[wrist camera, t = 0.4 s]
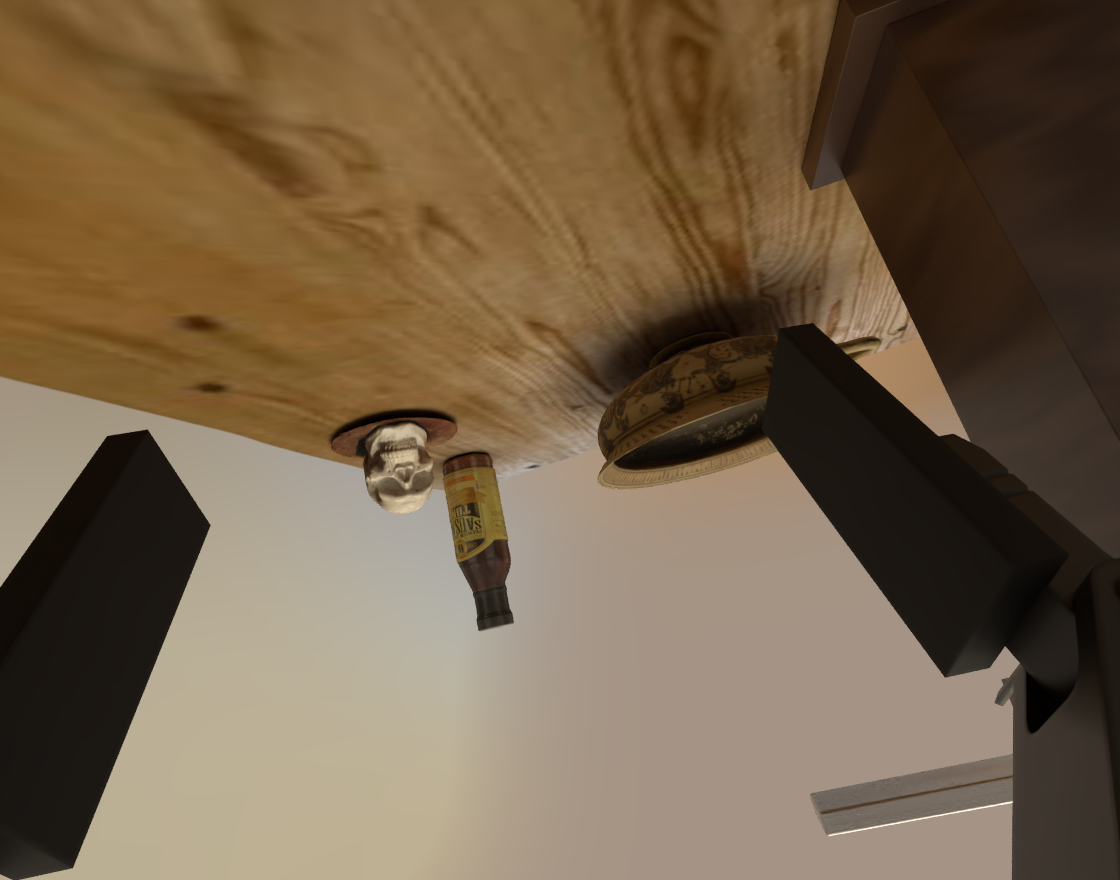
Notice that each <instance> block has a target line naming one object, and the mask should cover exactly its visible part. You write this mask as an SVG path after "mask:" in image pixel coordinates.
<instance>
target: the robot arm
mask: <svg viewBox="0 0 1120 880" xmlns="http://www.w3.org/2000/svg"><path fill="white" fill-rule="evenodd" d="M762 430H763V431H764V432H765V434H766V435H767V436H768V438H769V439H770V441H771V442H772V443H773V445H774V446H775V447H776V449H777V450H778V451H779V453H780V454H781V455H782V457H783V458H784V460H785V461H786V462H787V464H788V465H789V466H790V468H791V469H792V470H793V472H794V473H795V474H796V476H797V477H798V479H799V480H800V481H801V483H802V484H803V485H804V487H805V488H806V489H807V491H808V492H809V493H810V495H811V496H812V498H813V499H814V500H815V502H816V503H817V504H818V506H819V507H820V508H821V510H822V511H823V512H824V514H825V515H826V517H827V518H828V519H829V521H830V522H831V523H832V525H833V526H834V527H835V529H836V530H837V532H838V533H839V534H840V536H841V537H842V538H843V540H844V541H845V542H846V544H847V545H848V546H849V548H850V549H851V551H852V552H853V553H854V555H855V556H856V557H857V559H858V560H859V561H860V563H861V564H862V565H863V567H864V568H865V569H866V571H867V572H868V573H869V575H870V576H871V578H872V579H873V580H874V582H875V583H876V584H877V586H878V587H879V589H880V590H881V591H882V593H883V594H884V595H885V597H886V598H887V599H888V601H889V602H890V603H891V605H892V606H893V607H894V609H895V610H896V612H897V613H898V614H899V615H900V617H901V618H902V620H903V621H904V622H905V624H906V625H907V627H908V628H909V629H910V631H911V632H912V633H913V634H914V636H915V637H916V639H917V640H918V641H919V643H920V644H921V645H922V647H923V648H924V650H925V651H926V652H927V654H928V655H929V656H930V658H931V659H932V660H933V662H934V663H935V665H936V666H937V667H938V669H939V670H940V671H941V673H942V674H943V675H944V677H950V676H955V675H959V674H964V673H968V672H973V671H978V670H982V669H986V668H990V666H991V665H992V664H993V662H994V661H995V660H996V658H997V657H998V655H999V654H1000V652H1001V651H1002V650H1003V648H1004V647H1005V646H1006V647H1007V648H1008V650H1009V651H1010V652H1011V653H1012V654H1013V656H1014V657H1015V658H1016V659H1017V660H1018V661H1019V662H1020V664H1019V665H1018V667H1017V668H1016V669H1015V671H1014V672H1013V673H1012V675H1011V676H1010V677H1009V679H1008V680H1007V681H1006V682H1005V684H1004V685H1003V686H1002V688H1001V689H1000V690H999V692H998V695H997V697H996V700H995V703H996V704H998V705H1001V706H1003V705H1004V704H1005V703H1006V701H1007V700H1008V699H1009V698H1010V696H1011V695H1012V694H1013V816H1012V820H1013V821H1012V823H1013V824H1012V828H1013V829H1012V880H1120V558H1113V557H1111V556H1110V555H1109V554H1107V553H1106V552H1105V551H1103V550H1102V549H1101V548H1100V547H1099V546H1098V545H1096V544H1095V543H1094V542H1093V541H1092V540H1090V539H1089V538H1088V537H1087V536H1086V535H1085V534H1083V533H1082V532H1081V531H1080V530H1079V529H1078V528H1076V527H1075V526H1074V525H1073V524H1072V523H1070V522H1069V521H1068V520H1067V519H1066V518H1065V517H1063V516H1062V515H1061V514H1060V513H1059V512H1058V511H1056V510H1055V509H1054V508H1053V507H1052V506H1050V505H1049V504H1048V503H1047V502H1046V501H1045V500H1043V499H1042V498H1041V497H1040V496H1039V495H1038V494H1036V493H1035V492H1034V491H1029V490H1028V486H1027V485H1026V484H1025V483H1023V482H1022V481H1021V480H1020V479H1019V478H1017V477H1016V476H1015V475H1014V474H1009V473H1008V469H1007V468H1006V467H1005V466H1003V465H1002V464H1001V463H1000V462H999V461H997V460H996V459H995V458H994V457H993V456H992V455H990V454H989V453H988V452H987V451H986V450H985V449H983V448H981V447H979V446H977V445H975V444H973V443H971V442H969V441H967V440H965V439H963V438H960V437H958V436H957V435H955V434H949V435H944V436H937V435H936V434H935V433H934V432H933V431H932V430H931V429H930V428H928V427H927V426H926V425H925V424H924V423H923V422H922V421H920V420H919V419H918V418H917V417H916V416H915V415H914V414H913V413H912V412H911V411H910V410H908V409H907V408H906V407H905V406H904V405H903V404H902V403H901V402H900V401H898V400H897V399H896V398H895V397H894V396H893V395H892V394H891V393H890V392H888V391H887V390H886V389H885V388H884V387H883V386H882V385H881V384H880V383H878V382H877V381H876V380H875V379H874V378H873V377H872V376H871V375H870V374H869V373H867V372H866V371H865V370H864V369H863V368H862V367H861V366H860V365H859V364H857V363H856V362H855V361H854V360H853V359H852V358H851V357H850V356H849V355H847V354H846V353H845V352H844V351H843V350H842V349H841V348H840V347H839V346H837V345H836V344H835V343H834V342H833V341H832V340H831V339H830V338H829V337H827V336H826V335H825V334H824V333H823V332H822V331H821V330H820V329H819V328H817V327H816V326H815V325H814V324H813V323H811V324H804V325H798V326H792V327H786V328H779V333H778V338H777V344H776V350H775V356H774V362H773V367H772V373H771V379H770V385H769V391H768V397H767V402H766V408H765V414H764V420H763V426H762ZM209 528H210V524H209V522H208V521H207V519H206V518H205V516H204V514H203V513H202V512H201V510H200V509H199V507H198V506H197V504H196V502H195V501H194V499H193V498H192V496H191V495H190V493H189V492H188V490H187V489H186V487H185V486H184V484H183V483H182V481H181V479H180V478H179V476H178V475H177V473H176V472H175V470H174V469H173V467H172V466H171V464H170V463H169V461H168V460H167V458H166V457H165V455H164V454H163V452H162V451H161V449H160V447H159V446H158V444H157V443H156V442H155V440H154V438H153V437H152V436H151V434H150V432H149V431H148V430H142V431H136V432H130V433H123V434H117V435H111V436H107V437H106V439H105V440H104V441H103V443H102V444H101V446H100V447H99V448H98V450H97V451H96V453H95V454H94V456H93V457H92V459H91V460H90V461H89V463H88V464H87V466H86V467H85V468H84V470H83V471H82V473H81V474H80V475H79V477H78V478H77V479H76V481H75V482H74V484H73V485H72V487H71V488H70V490H69V491H68V492H67V494H66V495H65V496H64V498H63V500H62V501H61V502H60V504H59V505H58V506H57V508H56V509H55V511H54V512H53V514H52V515H51V516H50V518H49V519H48V521H47V522H46V523H45V525H44V526H43V528H42V529H41V531H40V532H39V533H38V535H37V536H36V538H35V539H34V540H33V542H32V543H31V545H30V546H29V547H28V549H27V550H26V552H25V553H24V555H23V556H22V557H21V559H20V560H19V562H18V563H17V564H16V566H15V567H14V569H13V570H12V572H11V573H10V574H9V576H8V577H7V579H6V580H5V582H4V583H3V584H2V586H1V587H0V874H1V875H3V876H6V877H8V878H10V879H12V880H20V879H25V878H29V877H34V876H38V875H43V874H48V873H52V872H57V871H62V870H66V869H71V868H73V866H74V864H75V861H76V859H77V856H78V854H79V851H80V849H81V846H82V844H83V841H84V839H85V836H86V834H87V832H88V829H89V826H90V824H91V822H92V819H93V817H94V814H95V812H96V809H97V806H98V804H99V802H100V799H101V797H102V794H103V792H104V789H105V787H106V784H107V782H108V779H109V777H110V774H111V771H112V769H113V767H114V764H115V762H116V759H117V757H118V754H119V752H120V749H121V747H122V744H123V742H124V739H125V737H126V734H127V732H128V730H129V727H130V724H131V722H132V720H133V717H134V715H135V712H136V710H137V707H138V705H139V702H140V700H141V697H142V695H143V692H144V690H145V687H146V685H147V682H148V680H149V677H150V675H151V672H152V670H153V667H154V665H155V662H156V660H157V657H158V655H159V652H160V650H161V647H162V645H163V642H164V640H165V637H166V635H167V632H168V630H169V627H170V625H171V623H172V620H173V617H174V615H175V612H176V610H177V607H178V605H179V603H180V600H181V598H182V595H183V593H184V590H185V588H186V585H187V582H188V580H189V578H190V575H191V573H192V570H193V568H194V565H195V563H196V560H197V558H198V555H199V553H200V550H201V548H202V545H203V543H204V540H205V538H206V535H207V533H208V530H209Z"/></svg>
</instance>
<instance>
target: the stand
mask: <svg viewBox="0 0 1120 880" xmlns="http://www.w3.org/2000/svg"><path fill="white" fill-rule="evenodd" d="M802 173H803V175H804V177H805V180H806V182H807V184H808V186H809V188H810V190H813V189H816V188H819V187H822V186H825V185H828V184H830V183H833V182H836V181H839V180H842V179H844V178H845V180H846V182H847V184H848V186H849V188H850V190H851V193H852V195H853V197H854V199H855V201H856V203H857V205H858V207H859V209H860V211H861V213H862V216H863V218H864V220H865V222H866V224H867V226H868V228H869V230H870V232H871V234H872V236H873V239H874V241H875V243H876V245H877V247H878V249H879V251H880V253H881V255H882V257H883V259H884V262H885V264H886V266H887V268H888V270H889V272H890V274H891V276H892V278H893V280H894V282H895V284H896V287H897V289H898V291H899V293H900V295H901V297H902V299H903V301H904V303H905V305H906V307H907V310H908V312H909V314H910V316H911V318H912V320H913V322H914V324H915V326H916V328H917V330H918V333H919V335H920V337H921V339H922V341H923V343H924V345H925V347H926V349H927V351H928V353H929V355H930V358H931V360H932V362H933V364H934V366H935V368H936V370H937V372H938V374H939V376H940V378H941V380H942V383H943V385H944V387H945V389H946V391H947V393H948V395H949V397H950V399H951V402H952V404H953V406H954V408H955V410H956V412H957V414H958V416H959V418H960V420H961V422H962V424H963V427H964V428H965V431H966V433H967V435H968V437H969V439H970V441H971V443H973V444H975V445H977V446H979V447H981V448H983V449H985V450H986V451H987V452H988V453H989V454H990V455H992V456H993V457H994V458H995V459H996V460H997V461H999V462H1000V463H1001V464H1002V465H1003V466H1005V467H1006V468H1007V469H1008V473H1009V474H1014V475H1015V476H1016V477H1017V478H1019V479H1020V480H1021V481H1022V482H1023V483H1025V484H1026V485H1027V486H1028V490H1029V491H1034V492H1035V493H1036V494H1038V495H1039V496H1040V497H1041V498H1042V499H1043V500H1045V501H1046V502H1047V503H1048V504H1049V505H1050V506H1052V507H1053V508H1054V509H1055V510H1056V511H1058V512H1059V513H1060V514H1061V515H1062V516H1063V517H1065V518H1066V519H1067V520H1068V521H1069V522H1070V523H1072V524H1073V525H1074V526H1075V527H1076V528H1078V529H1079V530H1080V531H1081V532H1082V533H1083V534H1085V535H1086V536H1087V537H1088V538H1089V539H1090V540H1092V541H1093V542H1094V543H1095V544H1096V545H1098V546H1099V547H1100V548H1101V549H1102V550H1103V551H1105V552H1106V553H1107V554H1109V555H1110V556H1111V557H1113V558H1120V0H841V1H840V5H839V9H838V14H837V18H836V22H835V27H834V31H833V35H832V40H831V44H830V49H829V53H828V57H827V62H826V66H825V70H824V75H823V79H822V83H821V88H820V92H819V96H818V101H817V105H816V110H815V114H814V118H813V123H812V127H811V131H810V136H809V140H808V144H807V149H806V153H805V158H804V162H803V166H802ZM1008 679H1009V678H1005V679H1002V682H1003V685H1004V684H1005V682H1006V681H1007V680H1008ZM1010 700H1011V703H1012V705H1013V694H1012V695H1011V696H1010Z"/></svg>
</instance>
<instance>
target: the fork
mask: <svg viewBox="0 0 1120 880" xmlns="http://www.w3.org/2000/svg"><path fill="white" fill-rule="evenodd" d="M810 797H811V800H812V803H813V806H814V809H815V812H816V815H817V817H818V819H819V821H820V823H821V825H822V827H823V829H824V831H825V833H826V834H827V836H832V835H838V834H843V833H849V832H854V831H859V830H865V829H870V828H876V827H881V826H887V825H892V824H898V823H903V822H908V821H914V820H920V819H925V818H931V817H936V816H942V815H947V814H953V813H958V812H964V811H969V810H975V809H980V808H985V807H991V806H996V805H1002V804H1007V803H1013V754H1011V755H1006V756H1002V757H996V758H991V759H986V760H980V761H976V762H971V763H965V764H960V765H955V766H950V767H945V768H939V769H934V770H930V771H924V772H919V773H914V774H909V775H904V776H898V777H893V778H888V779H883V780H878V781H873V782H867V783H862V784H857V785H852V786H847V787H842V788H837V789H831V790H826V791H821V792H817V793H812V794H810Z"/></svg>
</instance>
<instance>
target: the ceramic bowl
mask: <svg viewBox="0 0 1120 880" xmlns="http://www.w3.org/2000/svg"><path fill="white" fill-rule="evenodd" d="M777 338H778V335H755V336H745V337H738V338H733V339H732V336H731V335H730V334H728V333H725V332H706V333H700V334H697V335H694V336H690V337H687V338H684V339H682V340H679V341H677V342H675V343H673V344H671V345H669V346H668V347H666V348H664V349H663V350H661V351H660V352H659V353H658V354H657V355H656V356H654V357H653V359H652V360H651V362H650V369H651V370H650V371H648V372H647V373H645V374H644V375H642V376H641V377H639V378H638V379H637V380H635V381H634V382H632V383H631V384H630V385H629V386H628V387H626V388H625V389H624V390H623V391H622V392H621V393H620V394H619V395H618V396H617V397H616V398H615V399H614V400H613V401H612V402H611V404H610V405H609V406H608V408H607V409H606V411H605V413H604V415H603V416H602V419H601V422H600V424H599V428H598V441H599V446H600V449H601V451H602V454H603V455H604V457H605V458H606V460H607V462H606V463H605V464H604V465H603V467H602V469H601V471H600V473H599V476H598V483H599V484H600V485H601V486H604V487H606V488H611V489H615V488H617V489H636V488H644V487H652V486H656V485H663V484H668V483H672V482H678V481H683V480H687V479H692V478H696V477H700V476H704V475H708V474H711V473H715V472H718V471H722V470H725V469H729V468H732V467H735V466H738V465H742V464H745V463H747V462H750V461H753V460H756V459H759V458H761V457H764V456H767V455H770V454H772V453H774V452H777V451H778V450H777V449H776V447H775V446H774V445H773V443H772V442H771V441H770V439H769V438H768V436H767V435H766V434H765V432H764V431H763V430H762V426H763V420H764V414H765V408H766V402H767V397H768V391H769V385H770V379H771V373H772V367H773V362H774V356H775V350H776V344H777ZM836 345H837V346H839V347H840V348H841V349H842V350H843V351H844V352H845V353H846V354H847V355H849V356H850V357H851V358H852V359H853V360H854V361H855V360H857V359H859V358H861V357H864V356H866V355H868V354H870V353H872V352H874V351H876V350H877V349H878V348H879V347H880V345H881V341H880V340H879V339H878V338H876V337H872V336H871V337H862V338H858V339H855V340H851V341H847V342H844V343H839V344H836Z"/></svg>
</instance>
